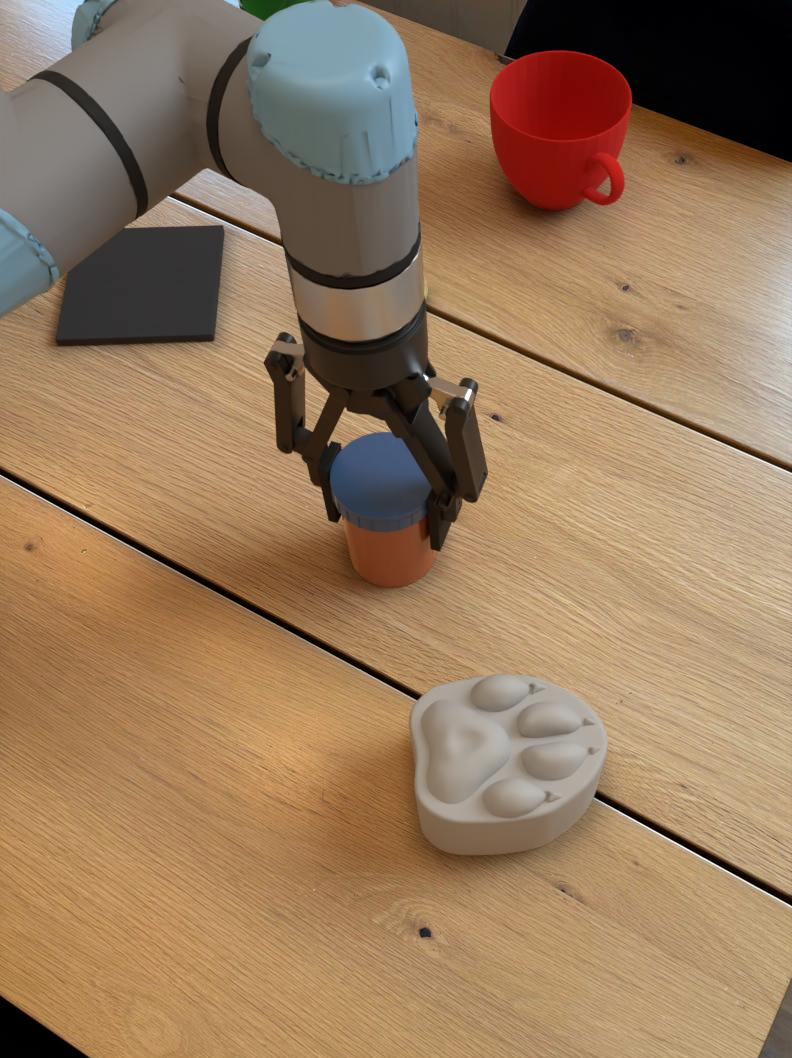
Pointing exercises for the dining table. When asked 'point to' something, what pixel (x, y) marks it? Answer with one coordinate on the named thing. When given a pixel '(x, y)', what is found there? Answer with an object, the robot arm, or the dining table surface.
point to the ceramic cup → (560, 127)
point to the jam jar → (391, 553)
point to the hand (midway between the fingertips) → (389, 522)
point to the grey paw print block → (503, 763)
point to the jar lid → (379, 484)
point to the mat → (145, 288)
